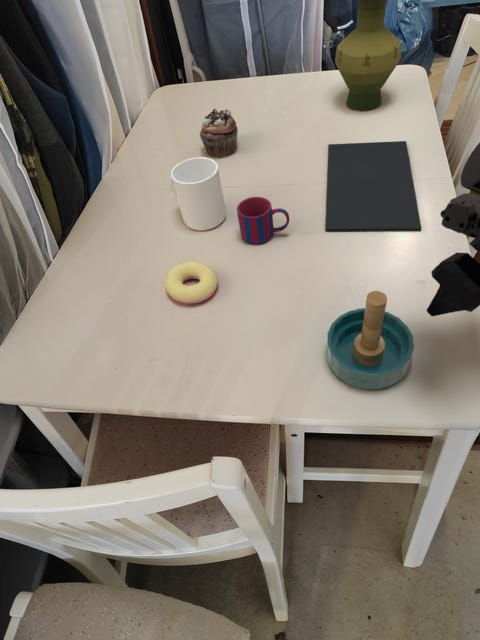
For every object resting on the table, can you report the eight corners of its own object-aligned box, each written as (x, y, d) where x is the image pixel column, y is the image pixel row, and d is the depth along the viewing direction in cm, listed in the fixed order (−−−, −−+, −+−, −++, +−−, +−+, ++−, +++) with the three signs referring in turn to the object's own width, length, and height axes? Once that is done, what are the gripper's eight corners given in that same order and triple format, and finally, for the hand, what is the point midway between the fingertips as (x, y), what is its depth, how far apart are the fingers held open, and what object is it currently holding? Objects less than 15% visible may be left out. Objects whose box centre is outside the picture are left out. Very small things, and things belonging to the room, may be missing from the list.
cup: (246, 222, 93) (243, 195, 88) (293, 227, 90) (292, 199, 85) (236, 243, 89) (232, 215, 84) (284, 249, 86) (283, 221, 81)
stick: (361, 339, 70) (369, 281, 60) (387, 351, 68) (400, 293, 58) (347, 358, 68) (353, 302, 58) (374, 371, 66) (385, 315, 56)
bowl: (404, 327, 71) (409, 309, 68) (412, 394, 63) (418, 377, 60) (327, 325, 73) (328, 307, 70) (325, 388, 66) (326, 372, 62)
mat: (405, 144, 105) (406, 140, 104) (420, 231, 85) (421, 227, 84) (328, 147, 108) (328, 144, 108) (325, 231, 88) (325, 228, 88)
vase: (323, 99, 125) (325, -34, 102) (375, 84, 126) (389, -50, 103) (350, 123, 114) (359, -18, 91) (406, 107, 116) (429, -36, 93)
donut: (193, 273, 88) (158, 297, 83) (187, 253, 86) (151, 277, 81) (229, 286, 83) (195, 313, 78) (225, 265, 80) (189, 291, 75)
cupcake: (242, 139, 116) (237, 100, 108) (236, 159, 110) (231, 119, 102) (207, 140, 118) (199, 102, 110) (199, 160, 112) (191, 122, 104)
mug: (220, 233, 92) (210, 184, 83) (167, 230, 95) (152, 182, 86) (231, 206, 98) (223, 157, 89) (181, 203, 101) (168, 156, 92)
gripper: (522, 154, 55) (440, 239, 67) (444, 187, 45) (366, 280, 58) (595, 216, 52) (495, 293, 64) (529, 266, 42) (426, 346, 54)
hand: (447, 300), depth 60 cm, fingers open, 9 cm apart
